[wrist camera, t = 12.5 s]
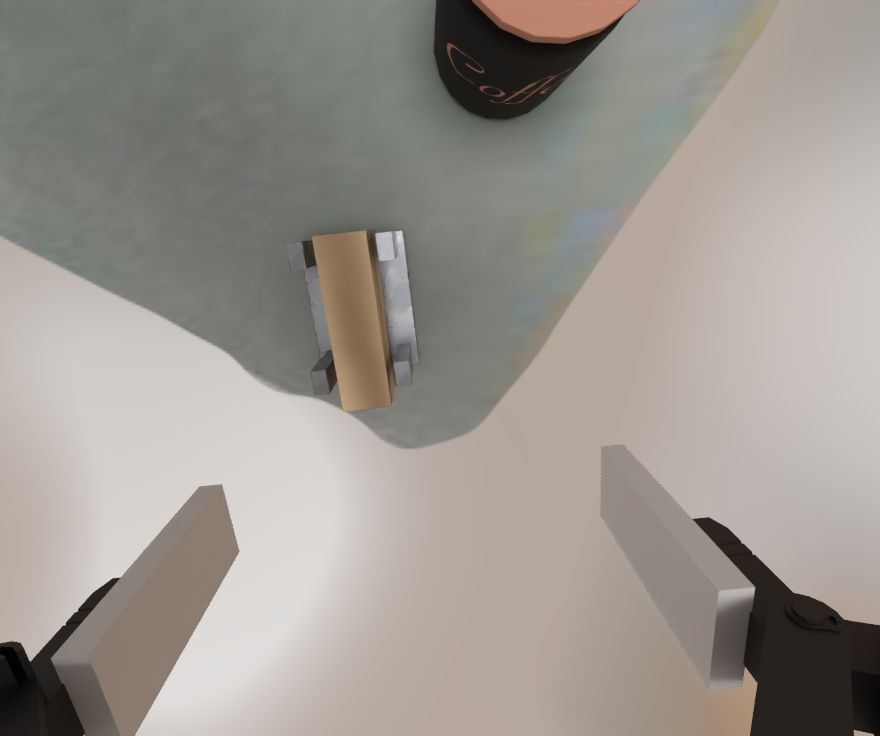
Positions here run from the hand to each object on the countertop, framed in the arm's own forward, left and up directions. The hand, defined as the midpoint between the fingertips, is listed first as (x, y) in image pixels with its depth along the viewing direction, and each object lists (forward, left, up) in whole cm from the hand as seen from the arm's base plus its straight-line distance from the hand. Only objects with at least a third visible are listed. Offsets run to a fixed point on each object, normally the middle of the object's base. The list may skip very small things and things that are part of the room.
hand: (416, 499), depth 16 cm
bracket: (-5, +3, -29) cm, 29 cm away
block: (-5, +2, -28) cm, 28 cm away
